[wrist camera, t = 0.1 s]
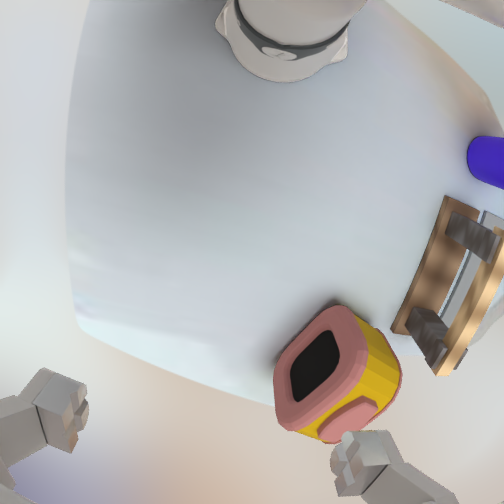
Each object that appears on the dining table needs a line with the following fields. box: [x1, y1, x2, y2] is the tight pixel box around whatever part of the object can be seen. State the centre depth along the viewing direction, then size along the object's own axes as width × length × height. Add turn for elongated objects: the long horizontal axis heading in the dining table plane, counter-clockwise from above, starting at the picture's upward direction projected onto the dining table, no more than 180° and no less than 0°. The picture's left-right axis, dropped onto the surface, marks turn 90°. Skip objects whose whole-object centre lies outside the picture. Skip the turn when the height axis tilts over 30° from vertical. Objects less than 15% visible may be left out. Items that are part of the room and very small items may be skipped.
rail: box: [432, 226, 504, 376], centre depth 37 cm, size 24×3×3 cm, turn 166°
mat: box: [440, 211, 504, 328], centre depth 50 cm, size 27×8×1 cm, turn 166°
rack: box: [390, 196, 501, 370], centre depth 43 cm, size 26×8×14 cm, turn 166°
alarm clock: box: [273, 305, 402, 444], centre depth 45 cm, size 18×11×19 cm, turn 144°
